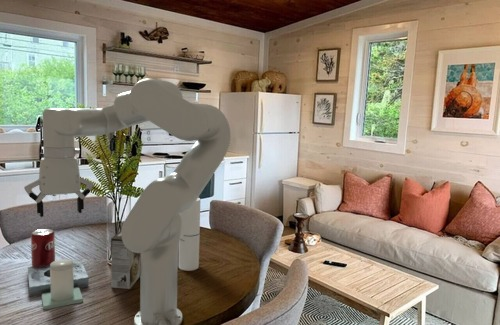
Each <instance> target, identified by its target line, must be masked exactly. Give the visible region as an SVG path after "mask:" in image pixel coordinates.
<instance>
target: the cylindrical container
mask: <svg viewBox="0 0 500 325" xmlns="http://www.w3.org/2000/svg"><path fill="white" fill-rule="evenodd" d="M201 200H202V199H201V198H200V197H198V199H197V200H196V202H195V203H194V204H193V205H192V206H191V207H190V208H189V209H187V210H185V211H183V212H181V213H180V216H181V220H182V229H181V235H180V241H179V248H178V268H179V269H180V270H181V271H189V272H190V271H195V270H197V269H199V266H200V265H199V264H200V261H199V260H200V234H201V232H200V231H201V230H200V228H201V227H200V226H201V225H200V224H201Z"/></svg>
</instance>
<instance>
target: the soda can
mask: <svg viewBox="0 0 500 325" xmlns="http://www.w3.org/2000/svg"><path fill="white" fill-rule="evenodd" d="M55 234H56V233H55V231H54V230H53V229H50V228H41V229H37V230H33V231H32V232H31V234H30V249H31V250H30V251H31V253H30V254H31V255H30V256H31V267H33V266H40V265H47V264H51V263H52V262H54V261H56V243H55V242H56V239H55V236H56V235H55Z"/></svg>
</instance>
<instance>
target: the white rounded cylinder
mask: <svg viewBox="0 0 500 325" xmlns="http://www.w3.org/2000/svg"><path fill="white" fill-rule="evenodd" d="M50 286H51V300H53V301H65V300H68V299H70V298H72V297H73V295H74V272H73V260H72V259H67V258H63V259H57V260H56V259H55V261H54V262H52V263H51V264H50Z"/></svg>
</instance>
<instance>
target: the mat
mask: <svg viewBox="0 0 500 325" xmlns="http://www.w3.org/2000/svg"><path fill="white" fill-rule="evenodd" d="M80 289H81V288H79V287H77V288H74V295H73V297H72V298H70V299H68V300H65V301H53V300H51V292H50V293H44V294H42V295H41V301H42V307H43V310H48V309H53V308H59V307H64V306H69V305H75V304H77V303H83V302H84V298H83V295H82V292H81V290H80Z"/></svg>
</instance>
